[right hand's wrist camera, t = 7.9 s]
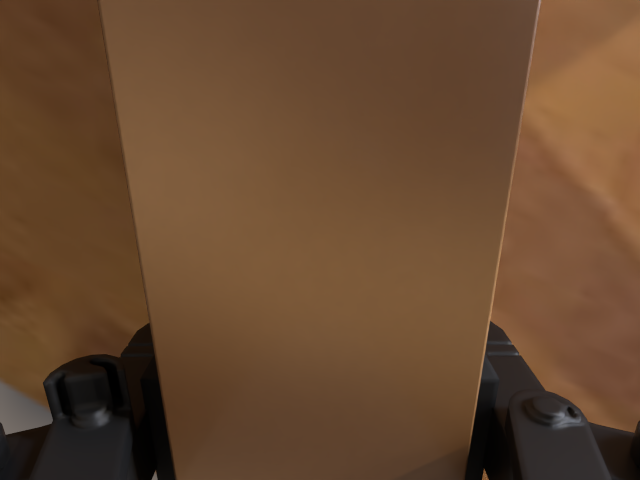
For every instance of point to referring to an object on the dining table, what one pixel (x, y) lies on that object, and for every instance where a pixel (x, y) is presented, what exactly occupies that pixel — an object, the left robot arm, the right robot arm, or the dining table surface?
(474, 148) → the post
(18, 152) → the dining table surface
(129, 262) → the dining table surface
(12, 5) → the dining table surface
